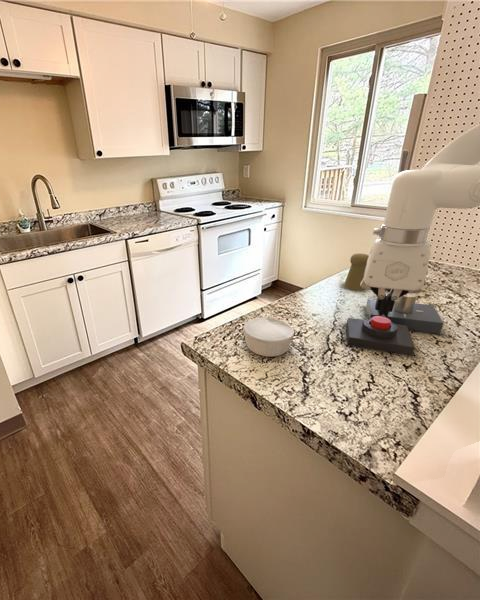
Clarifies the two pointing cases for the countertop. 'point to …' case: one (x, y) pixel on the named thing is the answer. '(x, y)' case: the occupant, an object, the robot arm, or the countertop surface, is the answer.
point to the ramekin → (268, 336)
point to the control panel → (411, 317)
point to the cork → (356, 272)
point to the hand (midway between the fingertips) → (382, 313)
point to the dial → (405, 303)
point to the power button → (380, 322)
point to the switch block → (379, 336)
